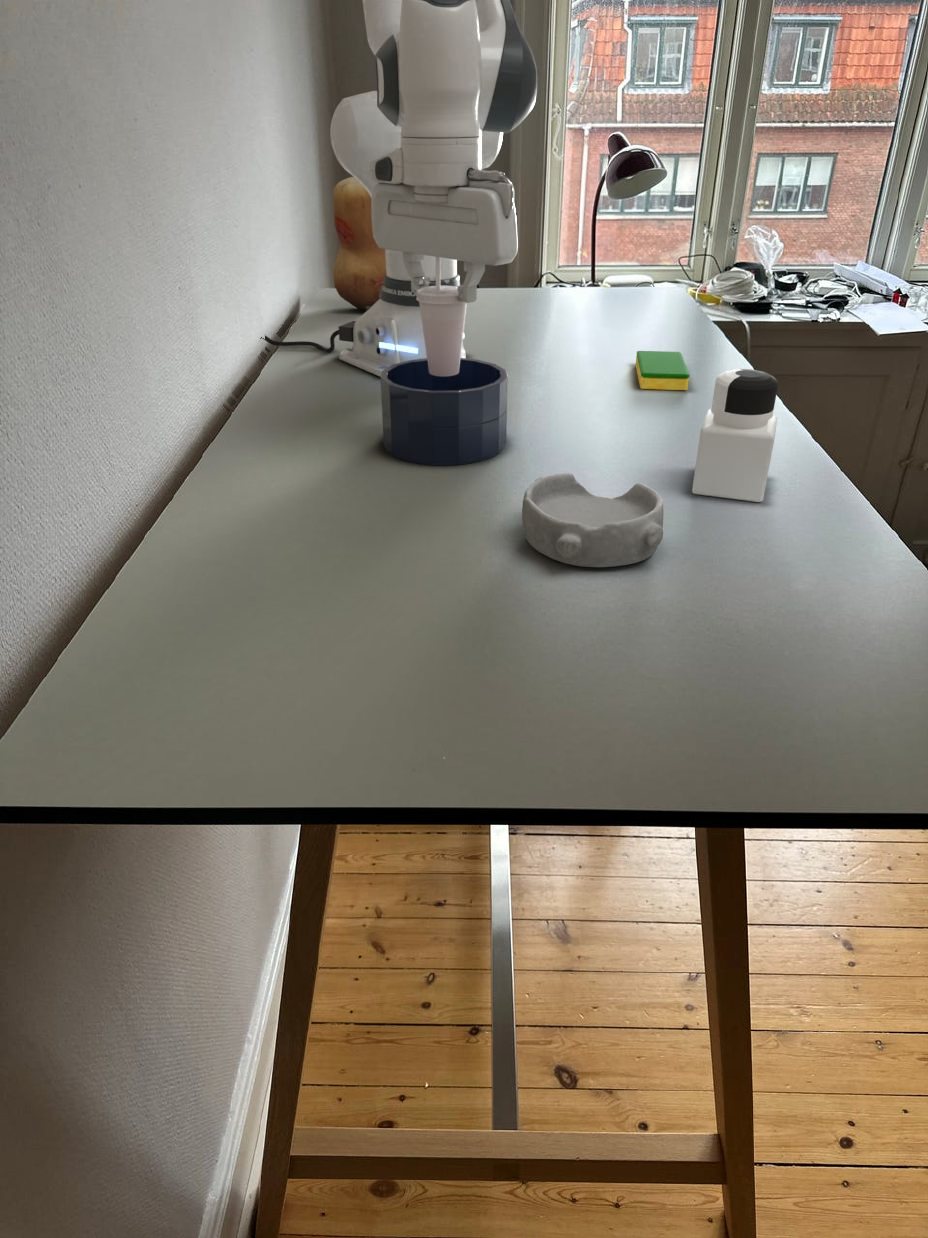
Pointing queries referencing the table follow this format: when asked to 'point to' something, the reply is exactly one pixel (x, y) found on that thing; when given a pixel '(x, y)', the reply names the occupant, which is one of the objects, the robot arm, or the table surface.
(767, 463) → the container
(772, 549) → the table surface
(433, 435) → the pot
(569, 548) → the dish
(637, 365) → the dish sponge
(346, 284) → the butternut squash
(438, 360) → the smoothie
